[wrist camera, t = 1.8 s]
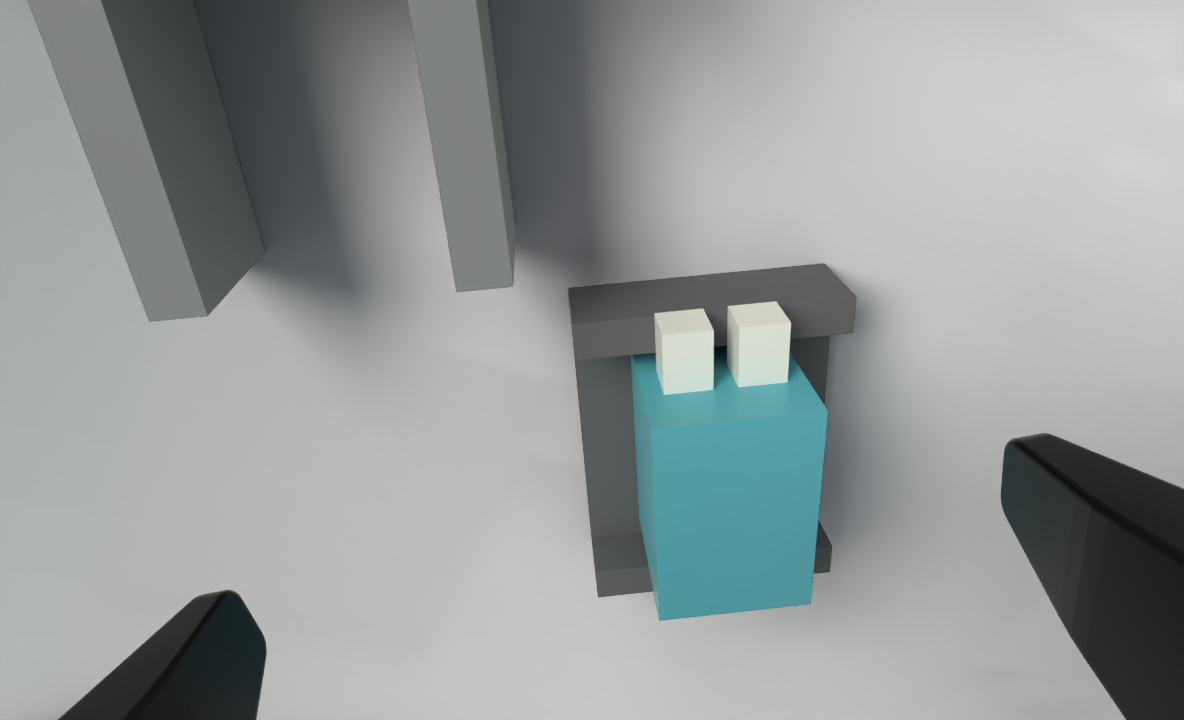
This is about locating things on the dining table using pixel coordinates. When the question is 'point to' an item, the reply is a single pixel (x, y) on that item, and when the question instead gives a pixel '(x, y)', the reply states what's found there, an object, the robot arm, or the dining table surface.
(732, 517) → the plug
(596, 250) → the dining table surface
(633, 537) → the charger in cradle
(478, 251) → the socket
